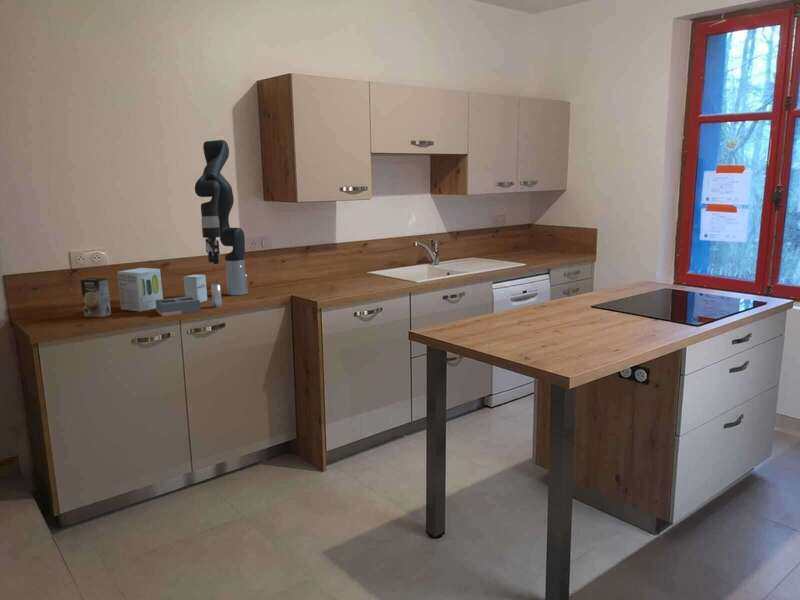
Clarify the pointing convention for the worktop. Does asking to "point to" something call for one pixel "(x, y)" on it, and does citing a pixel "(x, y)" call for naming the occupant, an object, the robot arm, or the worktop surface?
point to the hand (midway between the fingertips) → (213, 263)
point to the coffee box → (96, 297)
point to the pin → (216, 295)
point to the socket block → (178, 305)
